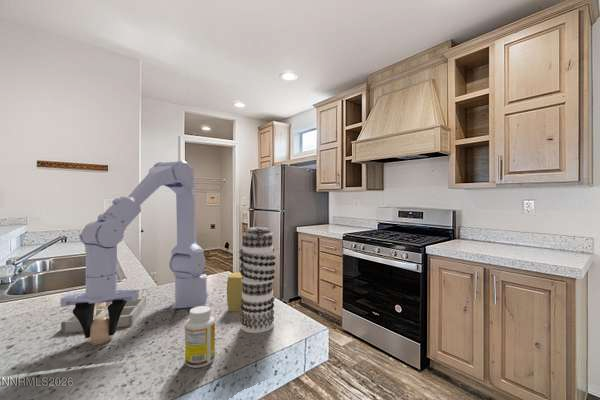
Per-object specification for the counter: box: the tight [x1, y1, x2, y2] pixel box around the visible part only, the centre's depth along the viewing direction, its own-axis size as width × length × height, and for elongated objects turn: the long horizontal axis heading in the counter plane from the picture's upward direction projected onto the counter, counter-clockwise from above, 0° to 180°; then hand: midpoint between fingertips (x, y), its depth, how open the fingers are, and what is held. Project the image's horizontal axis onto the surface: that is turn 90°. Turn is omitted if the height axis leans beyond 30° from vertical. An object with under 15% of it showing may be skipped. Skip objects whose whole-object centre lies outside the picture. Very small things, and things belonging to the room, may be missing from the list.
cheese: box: [226, 271, 243, 312], centre depth 85 cm, size 10×11×10 cm
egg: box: [89, 316, 113, 346], centre depth 62 cm, size 4×4×6 cm
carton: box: [60, 297, 147, 334], centre depth 74 cm, size 15×14×3 cm
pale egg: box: [95, 302, 106, 309], centre depth 76 cm, size 4×4×6 cm
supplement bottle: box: [184, 305, 216, 369], centre depth 55 cm, size 6×6×10 cm
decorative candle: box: [239, 226, 276, 334], centre depth 71 cm, size 9×9×25 cm
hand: (101, 334), depth 62 cm, fingers closed on egg, 4 cm apart
